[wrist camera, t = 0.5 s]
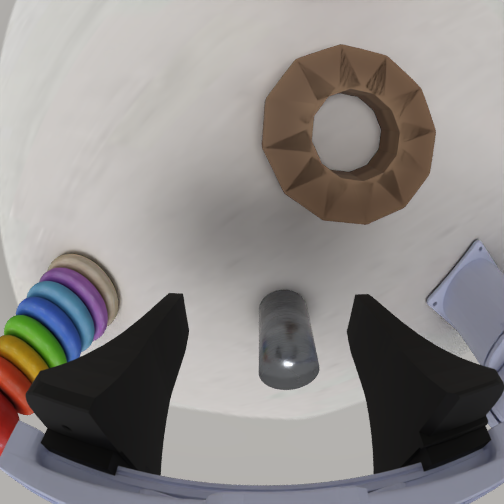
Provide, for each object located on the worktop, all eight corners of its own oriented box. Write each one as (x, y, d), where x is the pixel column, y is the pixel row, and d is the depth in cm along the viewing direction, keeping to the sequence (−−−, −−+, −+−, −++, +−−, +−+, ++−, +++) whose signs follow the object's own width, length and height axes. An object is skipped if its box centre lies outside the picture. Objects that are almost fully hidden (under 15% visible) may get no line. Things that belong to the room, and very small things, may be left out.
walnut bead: (436, 127, 17) (458, 131, 14) (354, 236, 21) (367, 253, 18) (322, 28, 15) (332, 14, 12) (231, 150, 19) (226, 155, 16)
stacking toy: (79, 233, 22) (-73, 393, 5) (137, 302, 24) (47, 495, 7) (42, 275, 24) (-68, 406, 7) (92, 331, 26) (14, 479, 10)
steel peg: (316, 304, 24) (331, 365, 18) (287, 334, 25) (293, 395, 19) (278, 281, 23) (284, 342, 17) (250, 314, 24) (247, 377, 18)
